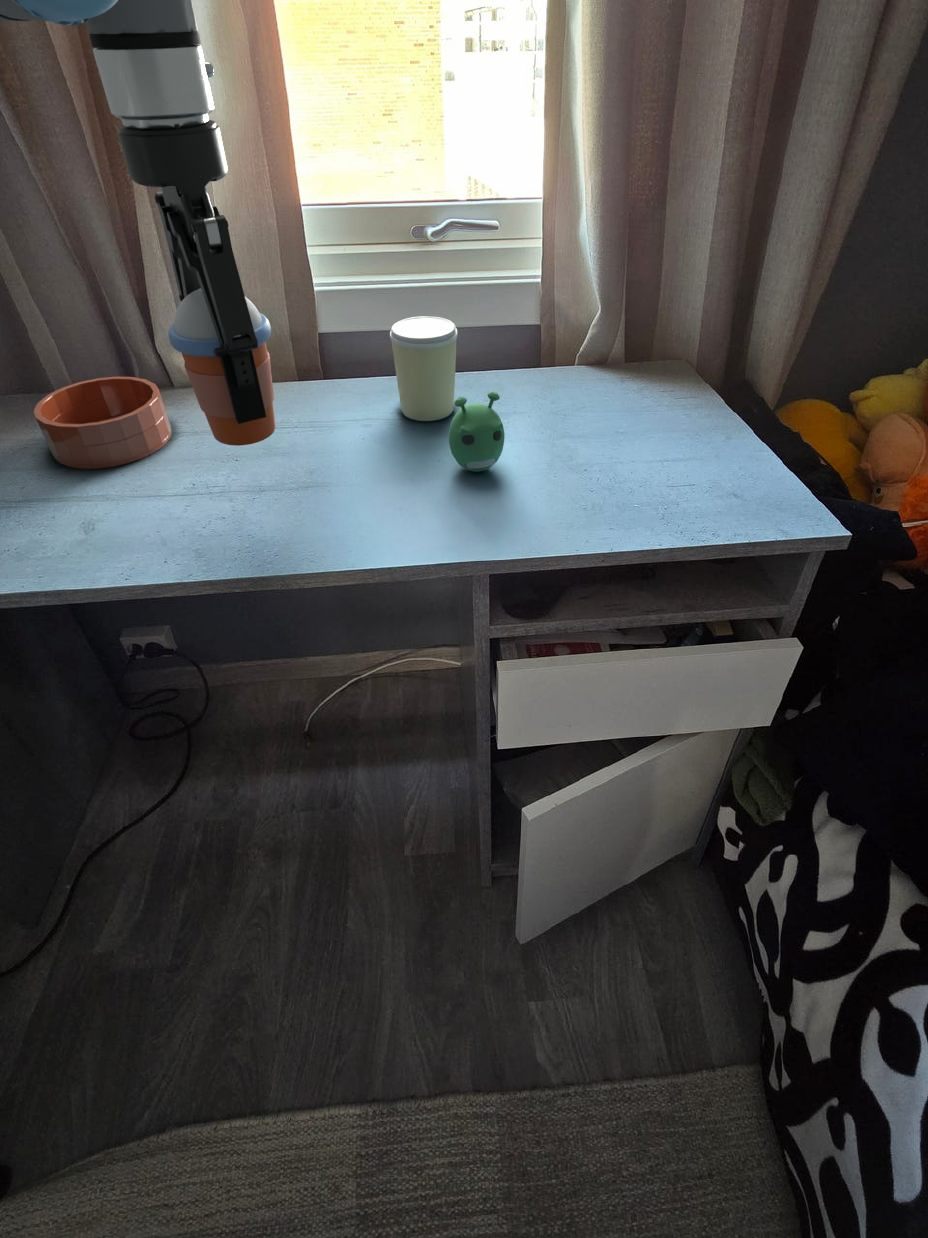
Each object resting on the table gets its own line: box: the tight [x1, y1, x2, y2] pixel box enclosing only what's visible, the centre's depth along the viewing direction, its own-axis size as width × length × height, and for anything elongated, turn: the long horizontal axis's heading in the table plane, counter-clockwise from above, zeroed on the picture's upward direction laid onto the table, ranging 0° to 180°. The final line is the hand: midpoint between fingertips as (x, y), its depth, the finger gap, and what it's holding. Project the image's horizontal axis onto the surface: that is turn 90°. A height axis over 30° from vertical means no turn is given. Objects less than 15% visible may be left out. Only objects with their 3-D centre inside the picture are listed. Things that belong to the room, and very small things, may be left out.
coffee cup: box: [389, 315, 459, 422], centre depth 98 cm, size 9×9×12 cm
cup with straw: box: [168, 289, 276, 447], centre depth 64 cm, size 9×9×18 cm
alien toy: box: [448, 391, 505, 472], centre depth 86 cm, size 7×8×10 cm
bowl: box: [33, 376, 172, 470], centre depth 94 cm, size 16×16×6 cm
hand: (235, 399), depth 68 cm, fingers closed on cup with straw, 9 cm apart
